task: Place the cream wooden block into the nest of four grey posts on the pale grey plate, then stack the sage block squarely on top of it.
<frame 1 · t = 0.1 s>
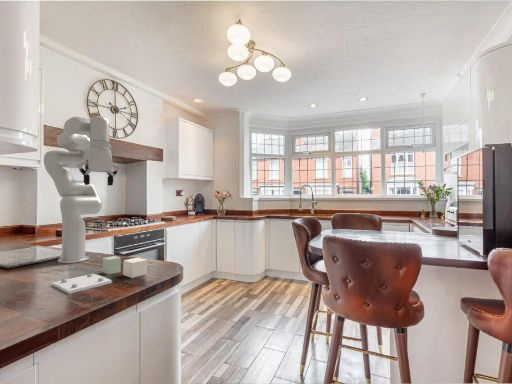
hand: (98, 185, 120), 37 cm above the counter, tool pointing down, fingers open, 9 cm apart
cream block: (135, 274, 112), on the counter
sage block: (111, 272, 115), on the counter
plate: (82, 284, 99), on the counter
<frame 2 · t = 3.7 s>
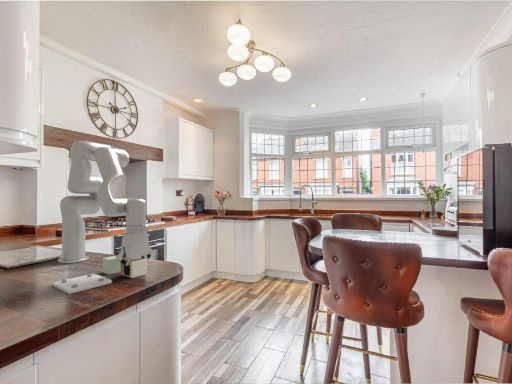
hand: (135, 272, 112), 1 cm above the counter, tool pointing down, fingers closed on cream block, 6 cm apart
cream block: (135, 274, 112), on the counter, touching gripper
everything else where it was.
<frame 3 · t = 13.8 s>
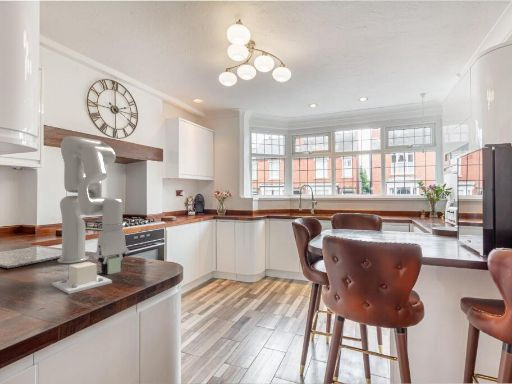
hand: (111, 270, 115), 0 cm above the counter, tool pointing down, fingers closed on sage block, 5 cm apart
cream block: (82, 281, 99), point 1 cm above the counter, touching plate
sage block: (111, 272, 115), on the counter, touching gripper
when the fingers open (9 cm above the counter, at t = 18.6 s): sage block drops 1 cm, resting on cream block.
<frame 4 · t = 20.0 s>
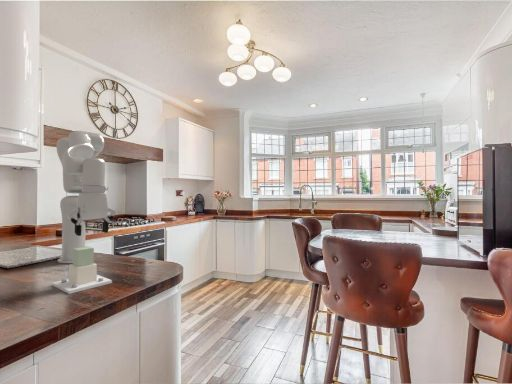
hand: (92, 233, 107), 17 cm above the counter, tool pointing down, fingers open, 9 cm apart
cream block: (82, 281, 99), point 1 cm above the counter, touching plate, sage block
sage block: (83, 264, 99), point 7 cm above the counter, touching cream block
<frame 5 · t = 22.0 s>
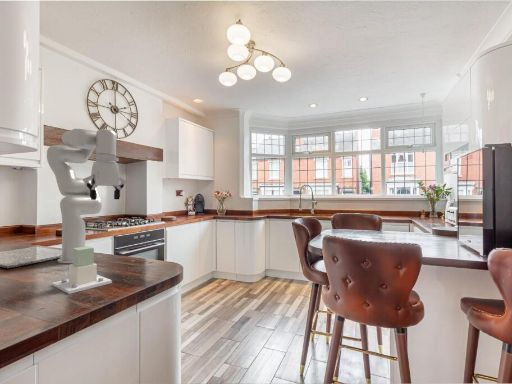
hand: (105, 199, 116), 30 cm above the counter, tool pointing down, fingers open, 9 cm apart
nothing on the counter moved.
at the end: cream block 0.1 cm off-centre on the plate, point 1.0 cm above the plate's base; sage block 0.1 cm off-centre on the cream block, point 6.0 cm above the cream block's base; sage block tilted 0° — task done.
